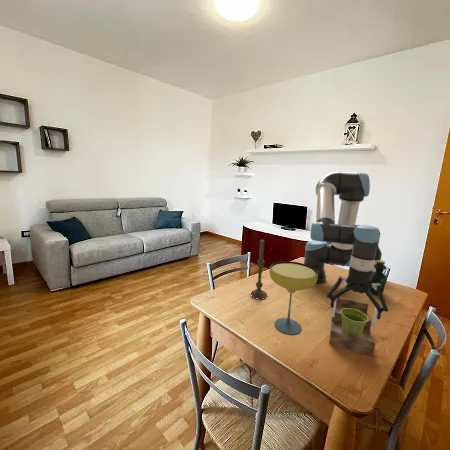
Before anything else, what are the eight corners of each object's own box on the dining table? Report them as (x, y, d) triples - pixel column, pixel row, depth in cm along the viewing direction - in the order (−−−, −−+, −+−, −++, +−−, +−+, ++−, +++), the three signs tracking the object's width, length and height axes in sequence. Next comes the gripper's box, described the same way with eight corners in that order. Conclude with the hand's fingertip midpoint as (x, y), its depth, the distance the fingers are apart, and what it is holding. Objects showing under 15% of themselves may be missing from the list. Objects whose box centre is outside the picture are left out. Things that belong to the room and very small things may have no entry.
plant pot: (358, 328, 97) (361, 309, 95) (369, 344, 88) (373, 323, 86) (334, 326, 98) (337, 307, 96) (343, 341, 89) (346, 320, 87)
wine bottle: (359, 274, 156) (366, 229, 149) (371, 274, 156) (379, 229, 150) (367, 279, 147) (375, 232, 141) (380, 279, 148) (388, 232, 142)
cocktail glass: (304, 347, 87) (312, 283, 82) (258, 329, 96) (262, 271, 91) (315, 322, 102) (322, 267, 97) (274, 309, 111) (279, 258, 106)
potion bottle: (385, 292, 131) (391, 261, 128) (382, 297, 126) (388, 265, 122) (368, 287, 137) (373, 257, 133) (365, 292, 131) (370, 261, 127)
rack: (329, 343, 90) (331, 331, 89) (333, 305, 116) (334, 296, 115) (372, 356, 84) (375, 343, 83) (366, 314, 110) (368, 303, 109)
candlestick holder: (247, 297, 121) (250, 239, 115) (252, 289, 130) (255, 235, 124) (265, 301, 118) (269, 242, 112) (269, 293, 126) (273, 238, 120)
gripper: (323, 264, 90) (317, 316, 94) (405, 279, 79) (393, 336, 83) (325, 258, 96) (319, 307, 101) (400, 271, 85) (390, 324, 90)
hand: (352, 320), depth 92 cm, fingers open, 13 cm apart
